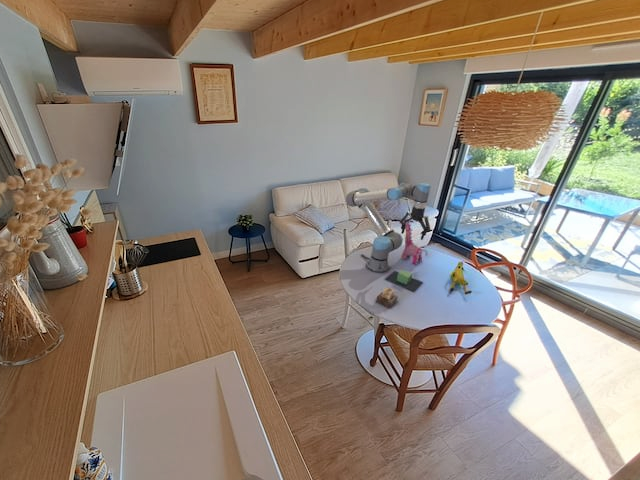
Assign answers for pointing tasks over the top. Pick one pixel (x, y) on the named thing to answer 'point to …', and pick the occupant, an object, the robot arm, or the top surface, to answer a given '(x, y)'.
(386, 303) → the walnut block
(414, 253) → the toy
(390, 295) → the beech block
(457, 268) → the figurine
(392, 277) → the mat
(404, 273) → the green block
